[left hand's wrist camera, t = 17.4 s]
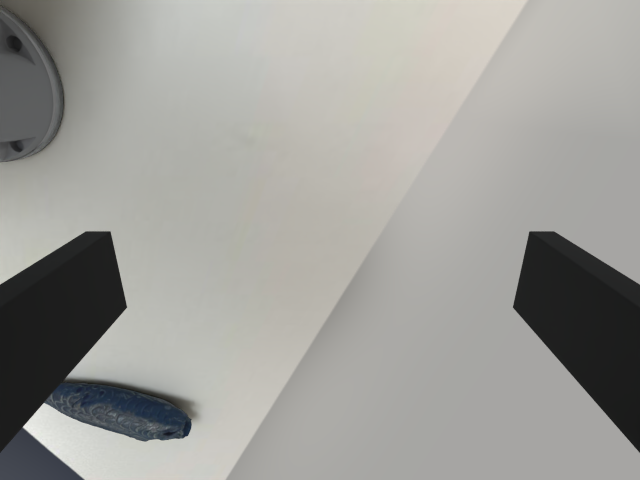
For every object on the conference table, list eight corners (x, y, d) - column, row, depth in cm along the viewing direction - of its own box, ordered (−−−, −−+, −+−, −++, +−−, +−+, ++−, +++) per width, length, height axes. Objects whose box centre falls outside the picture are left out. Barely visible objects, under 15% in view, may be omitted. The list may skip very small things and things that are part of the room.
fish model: (193, 430, 56) (182, 462, 51) (45, 405, 54) (19, 435, 50) (198, 395, 53) (186, 424, 49) (44, 368, 52) (16, 395, 47)
